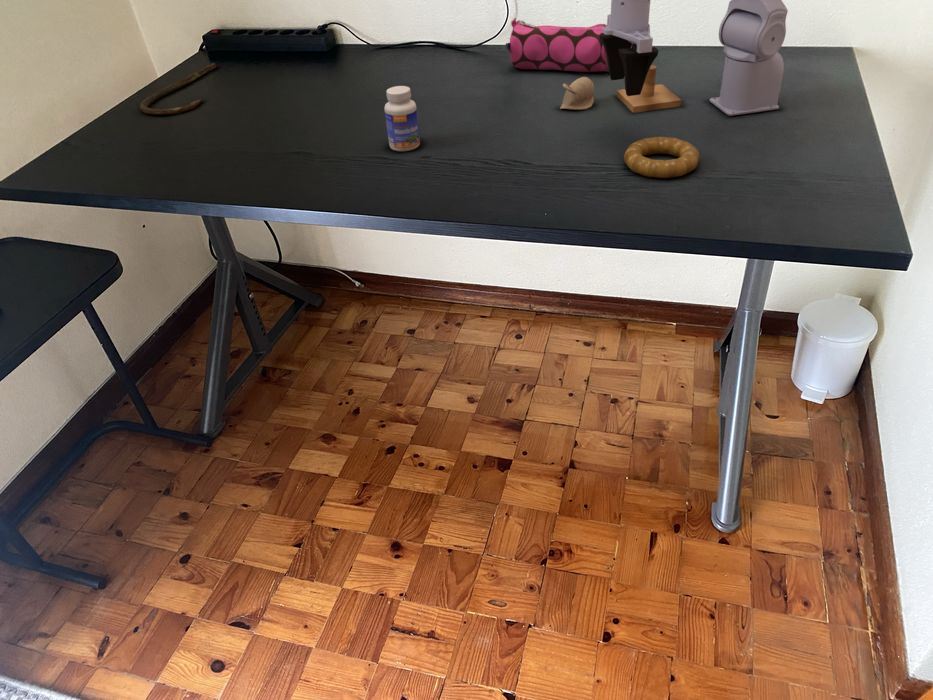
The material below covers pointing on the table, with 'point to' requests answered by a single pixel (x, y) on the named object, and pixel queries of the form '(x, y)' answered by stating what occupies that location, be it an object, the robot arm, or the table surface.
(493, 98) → the table surface
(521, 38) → the pencil case
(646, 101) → the stand
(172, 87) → the hook
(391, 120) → the pill bottle
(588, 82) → the decorative ornament
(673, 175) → the ring
